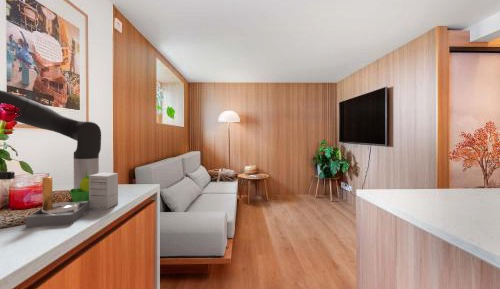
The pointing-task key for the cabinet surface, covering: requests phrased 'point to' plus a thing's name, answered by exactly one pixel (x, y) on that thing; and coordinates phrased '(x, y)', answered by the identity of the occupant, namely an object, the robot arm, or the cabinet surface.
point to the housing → (57, 216)
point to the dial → (47, 200)
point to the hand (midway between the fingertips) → (13, 175)
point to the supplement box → (103, 190)
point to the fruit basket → (81, 191)
